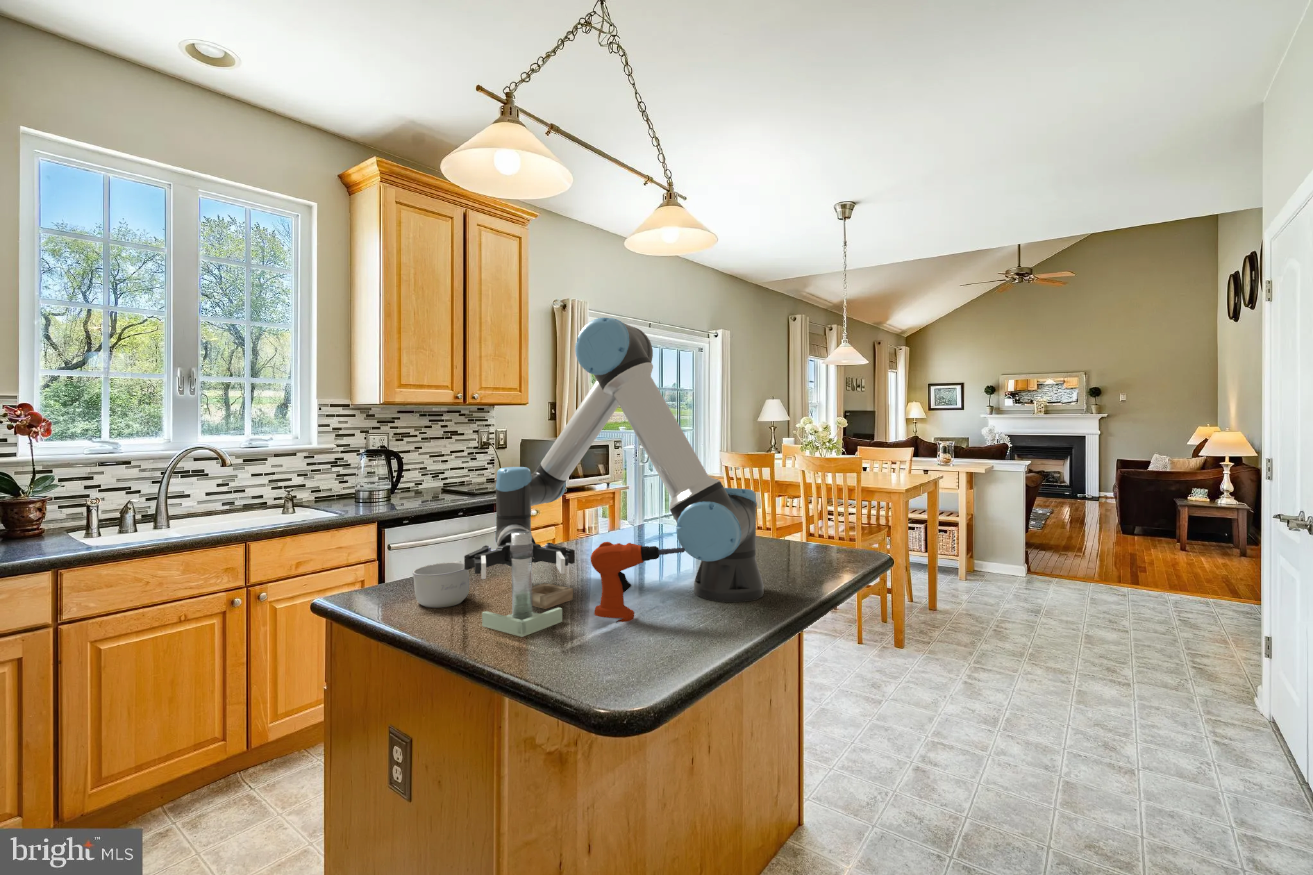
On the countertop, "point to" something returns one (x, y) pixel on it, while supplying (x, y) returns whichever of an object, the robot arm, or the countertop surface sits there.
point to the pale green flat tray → (521, 622)
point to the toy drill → (620, 574)
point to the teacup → (441, 584)
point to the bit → (521, 574)
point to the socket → (550, 595)
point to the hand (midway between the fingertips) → (524, 568)
